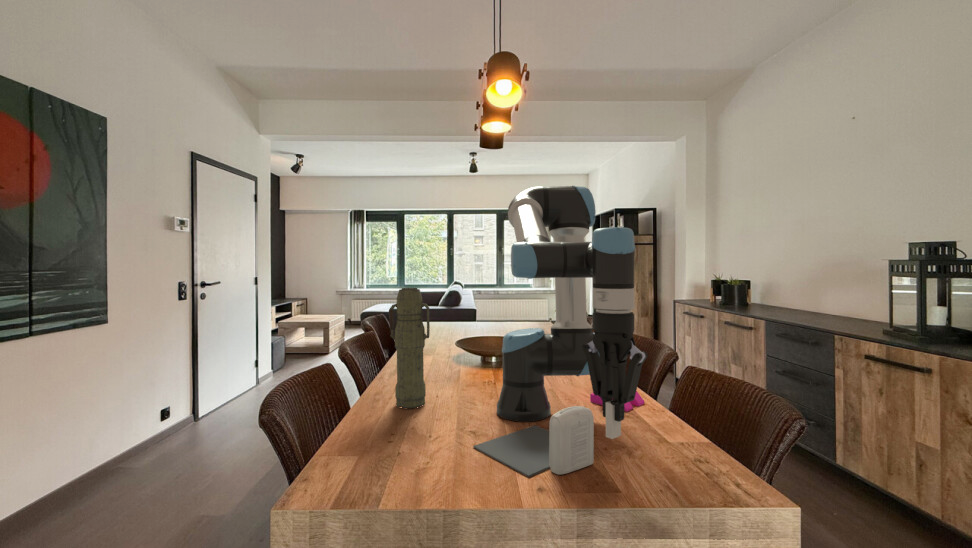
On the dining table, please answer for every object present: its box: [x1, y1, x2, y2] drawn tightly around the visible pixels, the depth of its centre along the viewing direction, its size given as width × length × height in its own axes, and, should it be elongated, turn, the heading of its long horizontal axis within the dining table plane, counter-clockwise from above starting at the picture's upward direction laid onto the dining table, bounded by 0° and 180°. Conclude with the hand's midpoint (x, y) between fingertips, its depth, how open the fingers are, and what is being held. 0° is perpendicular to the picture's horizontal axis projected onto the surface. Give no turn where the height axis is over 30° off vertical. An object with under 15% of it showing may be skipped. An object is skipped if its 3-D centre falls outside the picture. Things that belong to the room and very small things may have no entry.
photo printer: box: [548, 405, 595, 476], centre depth 89 cm, size 10×4×12 cm, turn 123°
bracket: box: [589, 378, 645, 413], centre depth 130 cm, size 12×10×10 cm
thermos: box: [388, 287, 431, 409], centre depth 129 cm, size 9×12×35 cm
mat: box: [472, 424, 551, 478], centre depth 98 cm, size 18×20×1 cm
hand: (613, 436), depth 81 cm, fingers closed
